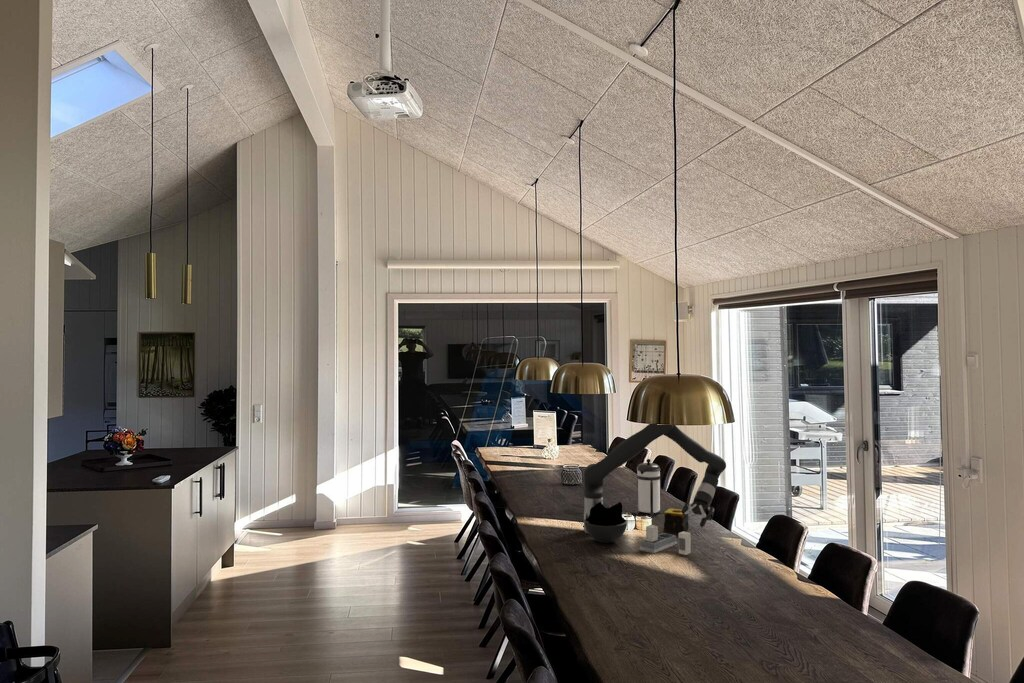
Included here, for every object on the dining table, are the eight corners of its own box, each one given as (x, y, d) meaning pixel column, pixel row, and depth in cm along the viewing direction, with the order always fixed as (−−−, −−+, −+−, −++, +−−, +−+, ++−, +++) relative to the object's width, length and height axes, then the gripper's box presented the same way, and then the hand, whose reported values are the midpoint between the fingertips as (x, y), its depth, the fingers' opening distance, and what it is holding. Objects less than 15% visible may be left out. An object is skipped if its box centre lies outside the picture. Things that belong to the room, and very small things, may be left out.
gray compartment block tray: (653, 553, 306) (653, 529, 306) (639, 550, 311) (639, 526, 311) (677, 543, 320) (677, 521, 320) (663, 541, 325) (663, 518, 325)
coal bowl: (577, 544, 320) (577, 504, 320) (593, 534, 337) (593, 495, 337) (619, 550, 310) (618, 508, 310) (632, 539, 328) (632, 499, 328)
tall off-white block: (685, 555, 303) (685, 534, 303) (678, 553, 305) (677, 533, 305) (690, 553, 306) (690, 532, 306) (683, 551, 308) (683, 531, 308)
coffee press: (667, 516, 372) (666, 461, 372) (637, 516, 372) (637, 461, 372) (660, 509, 389) (660, 456, 389) (632, 509, 389) (632, 456, 390)
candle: (663, 532, 340) (663, 512, 341) (668, 527, 349) (668, 508, 350) (684, 535, 336) (683, 514, 336) (689, 530, 345) (688, 510, 345)
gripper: (687, 488, 322) (675, 517, 314) (716, 492, 313) (704, 522, 304) (693, 497, 326) (681, 526, 318) (721, 502, 316) (709, 532, 308)
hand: (692, 524), depth 311 cm, fingers open, 8 cm apart
